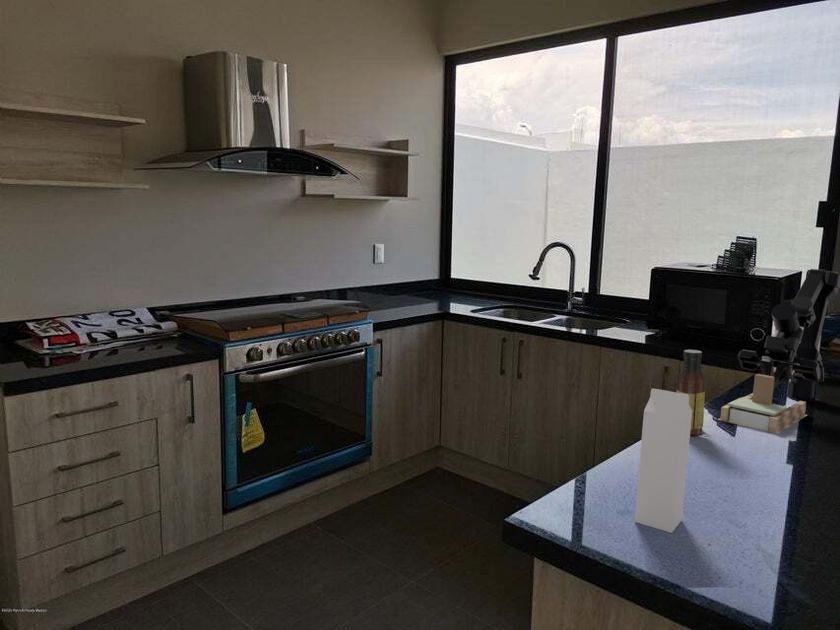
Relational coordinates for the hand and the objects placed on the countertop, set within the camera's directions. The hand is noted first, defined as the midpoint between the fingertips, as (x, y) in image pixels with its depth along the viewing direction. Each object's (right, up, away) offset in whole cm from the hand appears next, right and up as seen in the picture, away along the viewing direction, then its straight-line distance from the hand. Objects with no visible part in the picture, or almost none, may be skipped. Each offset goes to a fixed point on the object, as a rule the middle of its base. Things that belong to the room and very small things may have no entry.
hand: (767, 390), depth 164 cm
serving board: (-1, -8, 0) cm, 8 cm away
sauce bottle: (-26, -9, -12) cm, 30 cm away
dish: (-6, -7, -4) cm, 10 cm away
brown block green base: (-5, -4, -5) cm, 8 cm away
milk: (-50, -15, -59) cm, 79 cm away
